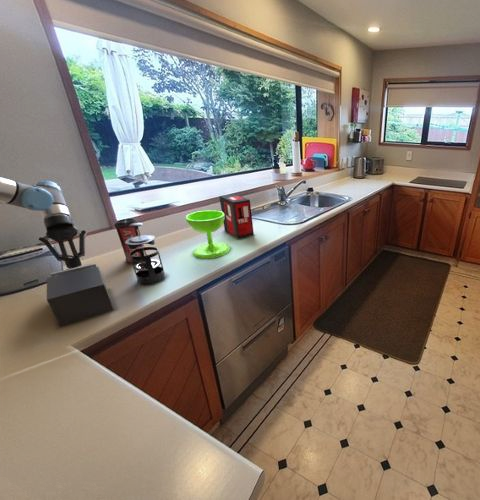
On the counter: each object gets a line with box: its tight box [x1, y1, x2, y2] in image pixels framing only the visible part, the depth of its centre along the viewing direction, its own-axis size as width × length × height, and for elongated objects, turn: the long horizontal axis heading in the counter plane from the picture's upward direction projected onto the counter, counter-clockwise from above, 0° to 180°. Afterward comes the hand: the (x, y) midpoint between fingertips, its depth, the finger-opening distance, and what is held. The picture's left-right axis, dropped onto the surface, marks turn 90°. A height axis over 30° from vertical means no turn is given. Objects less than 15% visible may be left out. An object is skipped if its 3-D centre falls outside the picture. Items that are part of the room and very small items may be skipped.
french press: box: [125, 222, 167, 286], centre depth 106 cm, size 12×9×23 cm
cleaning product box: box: [218, 193, 255, 240], centre depth 153 cm, size 16×9×20 cm, turn 46°
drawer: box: [50, 262, 97, 277], centre depth 96 cm, size 16×12×8 cm
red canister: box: [114, 218, 148, 264], centre depth 121 cm, size 8×8×18 cm
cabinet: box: [46, 265, 115, 327], centre depth 91 cm, size 16×13×10 cm
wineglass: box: [185, 209, 231, 259], centre depth 131 cm, size 16×16×18 cm
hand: (77, 274), depth 102 cm, fingers closed
